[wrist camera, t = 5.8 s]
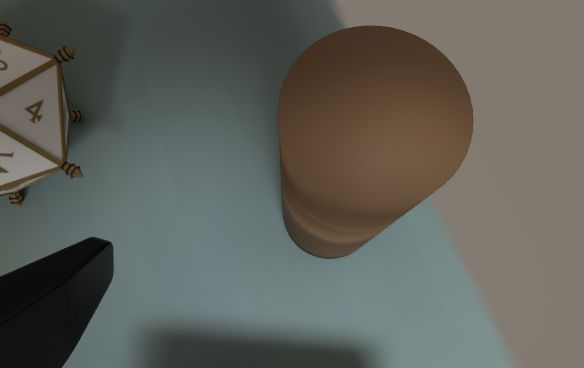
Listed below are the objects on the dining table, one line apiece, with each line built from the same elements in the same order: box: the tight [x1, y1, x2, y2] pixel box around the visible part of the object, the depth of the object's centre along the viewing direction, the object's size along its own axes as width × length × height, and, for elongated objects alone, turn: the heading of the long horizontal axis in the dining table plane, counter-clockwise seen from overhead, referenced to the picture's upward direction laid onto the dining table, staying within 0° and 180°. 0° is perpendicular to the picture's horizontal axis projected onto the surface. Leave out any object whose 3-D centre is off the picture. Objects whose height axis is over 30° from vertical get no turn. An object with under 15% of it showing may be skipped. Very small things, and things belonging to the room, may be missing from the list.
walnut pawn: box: [278, 26, 473, 259], centre depth 16 cm, size 4×4×12 cm
